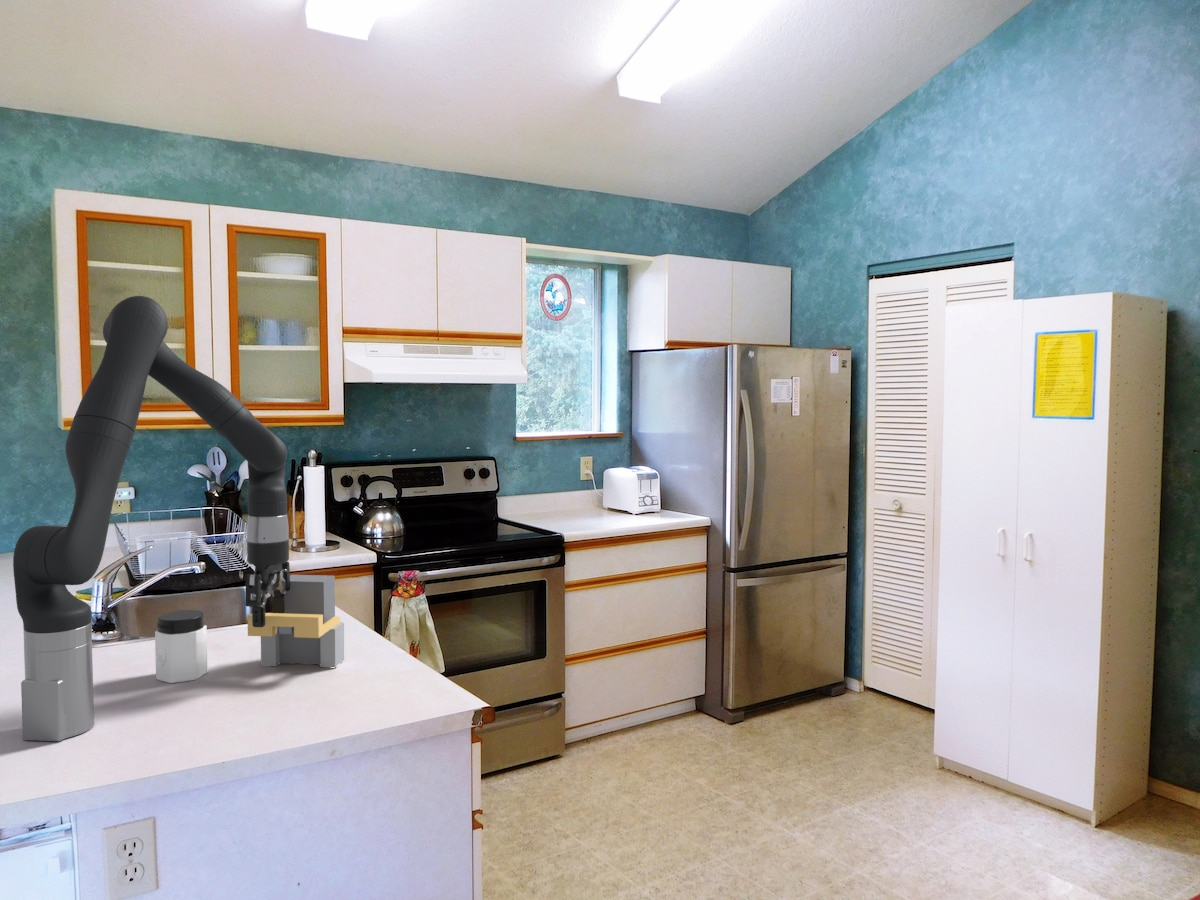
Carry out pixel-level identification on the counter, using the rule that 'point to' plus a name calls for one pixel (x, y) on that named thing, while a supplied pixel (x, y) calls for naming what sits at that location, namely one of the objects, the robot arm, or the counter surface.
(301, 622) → the tan u-shaped bracket
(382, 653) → the counter surface
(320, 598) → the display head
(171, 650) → the jar
